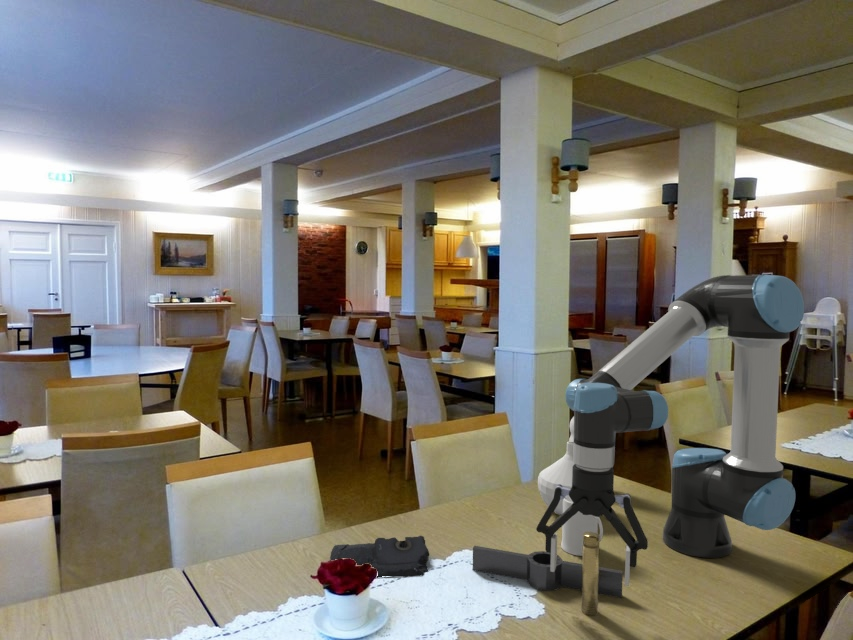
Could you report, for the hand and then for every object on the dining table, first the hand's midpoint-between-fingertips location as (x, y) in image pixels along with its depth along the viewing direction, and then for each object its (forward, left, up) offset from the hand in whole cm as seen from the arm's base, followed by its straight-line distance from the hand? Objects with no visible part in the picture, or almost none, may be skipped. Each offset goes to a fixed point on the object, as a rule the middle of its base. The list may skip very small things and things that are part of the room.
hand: (589, 575), depth 113 cm
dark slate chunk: (+46, -4, -8) cm, 47 cm away
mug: (+4, -26, -7) cm, 27 cm away
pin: (0, 0, -7) cm, 7 cm away
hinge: (+10, -8, -7) cm, 15 cm away
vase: (+10, -50, -7) cm, 52 cm away
